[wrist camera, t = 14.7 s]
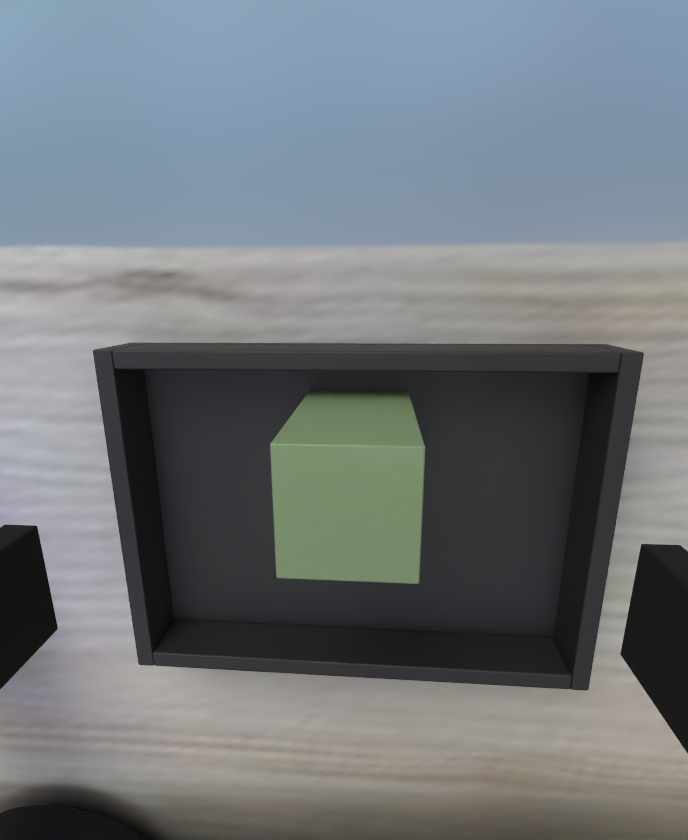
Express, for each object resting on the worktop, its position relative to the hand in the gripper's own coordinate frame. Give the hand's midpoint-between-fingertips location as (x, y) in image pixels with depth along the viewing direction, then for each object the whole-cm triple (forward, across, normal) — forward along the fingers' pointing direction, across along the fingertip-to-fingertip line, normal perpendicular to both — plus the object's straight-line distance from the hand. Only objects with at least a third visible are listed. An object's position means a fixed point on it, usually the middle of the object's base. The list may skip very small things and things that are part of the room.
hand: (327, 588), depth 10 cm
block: (+12, 0, 0) cm, 12 cm away
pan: (+12, 0, +4) cm, 13 cm away
